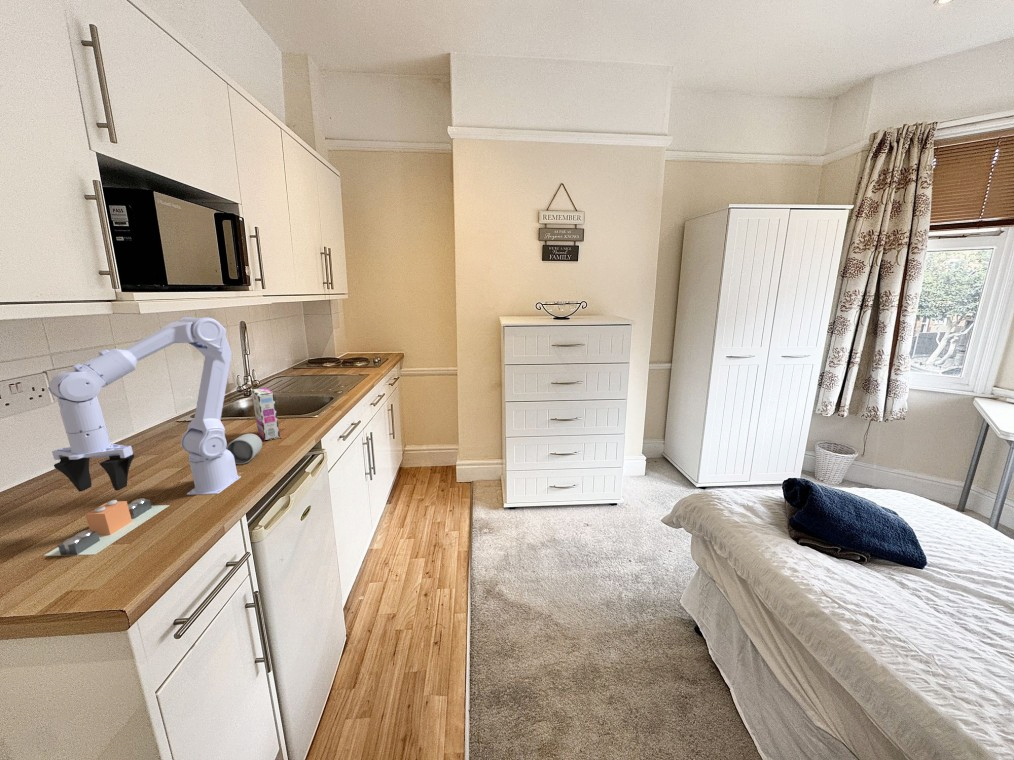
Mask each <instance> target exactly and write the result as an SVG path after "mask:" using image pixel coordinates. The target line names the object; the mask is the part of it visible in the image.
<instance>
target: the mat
mask: <svg viewBox="0 0 1014 760" xmlns="http://www.w3.org/2000/svg"><path fill="white" fill-rule="evenodd" d="M151 506H152V508H151V509H149V510H148V511H146V512H144V513H143V514H141V515H140V516H138V517H137V518H135V519H132V522H130V523H129V524H127V525H126V526H124V527H122V528H121V529H119V530H118V531H116V532H115V533H113V534H111V535H99V539H100V541H98V542H97V543H95V544H94V545H92V546H91V547H89V548H87V549H86V550H84V551H83V552H81V553H79V554H78V555H77V556H91V555H93V556H94V555H97V554H98V553H99V552H101V551H102V550H104V549H105V548H107V547H108V546H110V545H112V544H113V543H115V542H116V541H118V540H120V539H121V538H122V537H124V536H126V535H127V534H128V533H130V532H131V531H133V530H135V529H136V528H137V527H139V526H141V525H143V524H144V523H146V522H147V521H148V520H150V519H151V518H153V517H155V516H156V515H158V514H159V513H161V512H162V511H163V510H165V509H167V508H168V507H170V505H167V504H165V505H161V504H160V505H151ZM87 530H90V528H88V529H87ZM43 556H44V557H46V556H47V557H48V556H49V557H51V556H52V557H53V556H55V557H56V556H58V557H59V556H62V555H61V554H60V551H59V548H58V546H57V547H56V548H54V549H52V550H50V551H49V552H47V553H45V554H44V555H43Z"/></svg>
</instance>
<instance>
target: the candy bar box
mask: <svg viewBox="0 0 1014 760" xmlns="http://www.w3.org/2000/svg"><path fill="white" fill-rule="evenodd" d="M274 394H275V393H274V392H273V391H271V390H270V389H268V387H262V388H261V387H260V388H253V389H251V395H252V396H251V397H252V402H253V410H254V414H255V421H256V426H257V433H258V434H260V435H261V436H262V437H261V436H260V435H259V436H260V437H261V438H262V439H263V440H264V441H265V440H268V441H271V440H270V439H273V440H275V439H274V438H277V439H279V438H278V437H280V438H281V435H280V434H281V433H280V429H279V428H280V427H279V422H278V414H277V407H276V406H277V405H276V400H275V399H276V398H275V395H274Z"/></svg>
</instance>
